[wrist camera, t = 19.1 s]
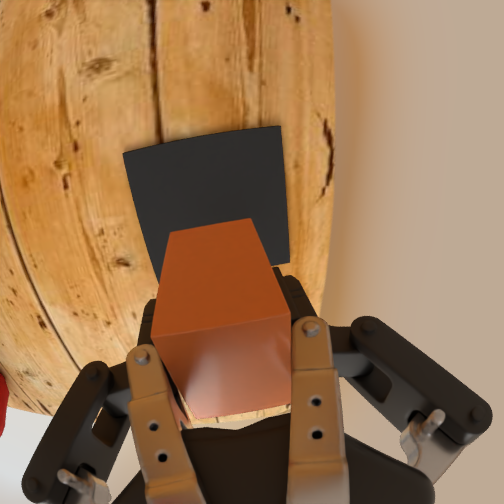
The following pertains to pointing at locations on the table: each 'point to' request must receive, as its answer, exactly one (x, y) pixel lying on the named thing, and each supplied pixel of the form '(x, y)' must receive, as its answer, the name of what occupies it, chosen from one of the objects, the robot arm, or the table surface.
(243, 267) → the block
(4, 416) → the apple
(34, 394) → the table surface
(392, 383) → the robot arm
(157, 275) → the mat
